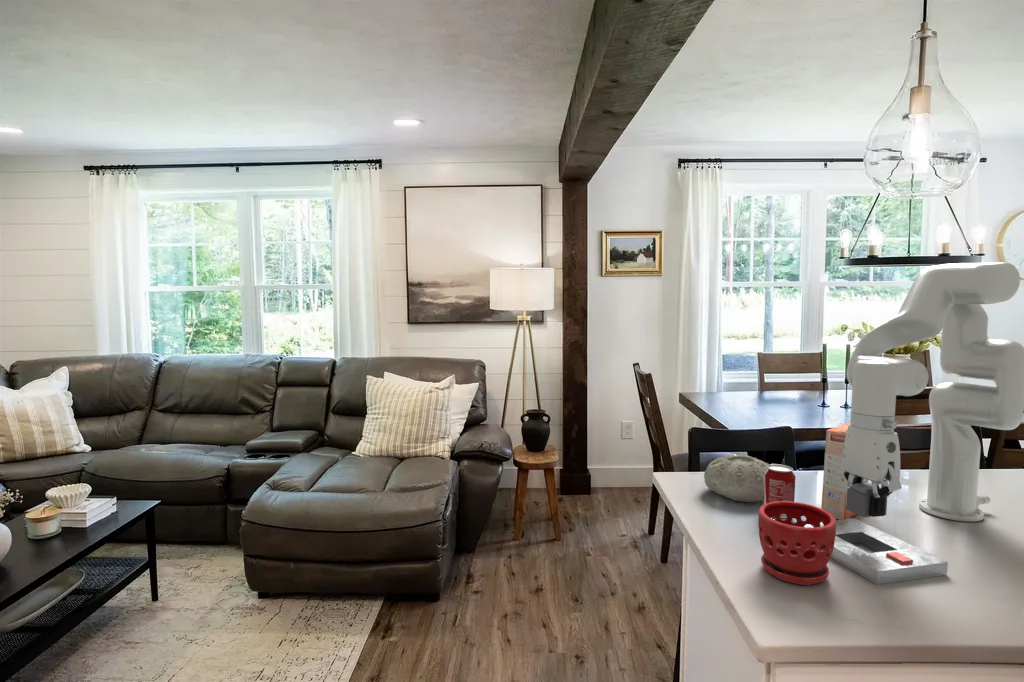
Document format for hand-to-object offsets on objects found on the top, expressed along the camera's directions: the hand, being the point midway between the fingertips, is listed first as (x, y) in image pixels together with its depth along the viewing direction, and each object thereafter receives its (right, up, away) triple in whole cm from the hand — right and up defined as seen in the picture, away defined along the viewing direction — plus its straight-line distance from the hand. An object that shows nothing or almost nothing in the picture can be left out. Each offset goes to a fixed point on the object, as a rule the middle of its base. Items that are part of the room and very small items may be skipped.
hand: (866, 510), depth 119 cm
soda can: (-9, -8, +20) cm, 23 cm away
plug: (0, 0, 0) cm, 0 cm away
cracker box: (+9, -7, +24) cm, 26 cm away
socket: (0, -9, +1) cm, 9 cm away
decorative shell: (-12, -6, +35) cm, 37 cm away
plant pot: (-18, -10, -8) cm, 22 cm away
